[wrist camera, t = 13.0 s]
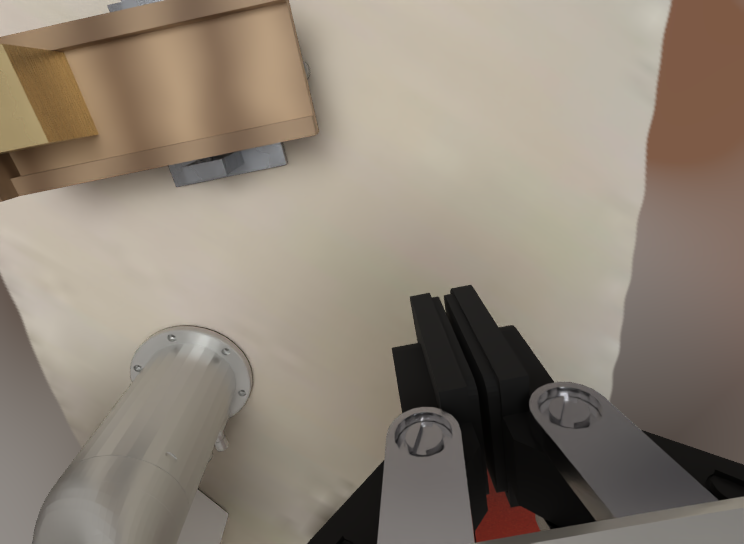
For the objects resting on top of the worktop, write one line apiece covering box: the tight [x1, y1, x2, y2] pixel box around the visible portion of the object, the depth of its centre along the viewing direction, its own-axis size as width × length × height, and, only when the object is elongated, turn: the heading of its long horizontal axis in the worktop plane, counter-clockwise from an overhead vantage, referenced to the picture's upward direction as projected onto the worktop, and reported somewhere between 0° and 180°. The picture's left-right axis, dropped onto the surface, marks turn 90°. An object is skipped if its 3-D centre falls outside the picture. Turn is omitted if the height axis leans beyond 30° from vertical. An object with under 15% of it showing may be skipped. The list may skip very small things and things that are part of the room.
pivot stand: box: [107, 0, 310, 187], centre depth 32 cm, size 21×14×7 cm
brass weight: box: [0, 44, 99, 154], centre depth 25 cm, size 6×5×5 cm
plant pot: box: [475, 469, 540, 542], centre depth 46 cm, size 19×19×17 cm
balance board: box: [0, 0, 319, 202], centre depth 27 cm, size 22×9×4 cm, turn 101°
